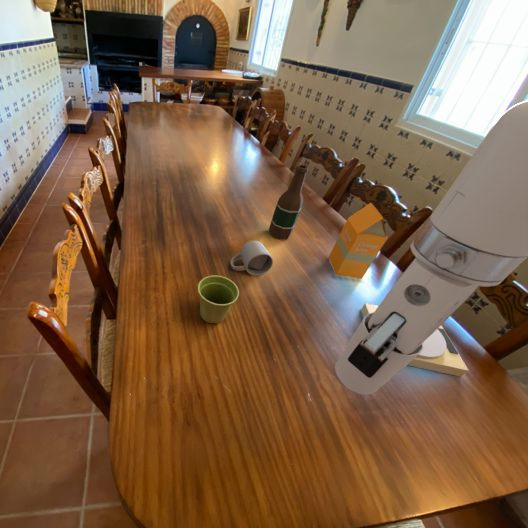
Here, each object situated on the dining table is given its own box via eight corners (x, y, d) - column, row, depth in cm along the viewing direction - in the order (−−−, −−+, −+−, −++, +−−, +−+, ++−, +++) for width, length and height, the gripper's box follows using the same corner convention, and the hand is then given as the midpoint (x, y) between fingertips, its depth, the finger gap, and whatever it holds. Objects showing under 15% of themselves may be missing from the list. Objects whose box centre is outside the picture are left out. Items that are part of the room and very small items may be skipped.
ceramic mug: (259, 257, 91) (265, 237, 87) (269, 275, 85) (276, 254, 80) (226, 259, 90) (230, 238, 85) (234, 277, 84) (239, 255, 79)
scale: (430, 323, 75) (439, 314, 73) (461, 376, 64) (472, 368, 62) (360, 309, 77) (366, 300, 75) (377, 358, 66) (385, 349, 64)
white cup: (377, 363, 44) (415, 320, 38) (385, 405, 40) (431, 363, 33) (330, 349, 46) (359, 305, 40) (333, 388, 41) (367, 345, 35)
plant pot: (239, 315, 73) (247, 290, 67) (215, 337, 67) (222, 311, 62) (209, 294, 78) (214, 270, 72) (185, 313, 72) (189, 288, 66)
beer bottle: (267, 237, 100) (290, 169, 85) (268, 226, 106) (288, 159, 91) (291, 242, 99) (318, 173, 84) (290, 230, 105) (315, 163, 90)
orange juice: (352, 260, 94) (385, 203, 81) (362, 279, 87) (399, 220, 74) (327, 257, 94) (356, 200, 82) (335, 275, 87) (367, 216, 75)
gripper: (477, 308, 22) (364, 416, 33) (539, 244, 30) (430, 349, 41) (378, 254, 27) (309, 365, 38) (454, 211, 35) (378, 313, 46)
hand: (372, 356), depth 40 cm, fingers closed on white cup, 5 cm apart
